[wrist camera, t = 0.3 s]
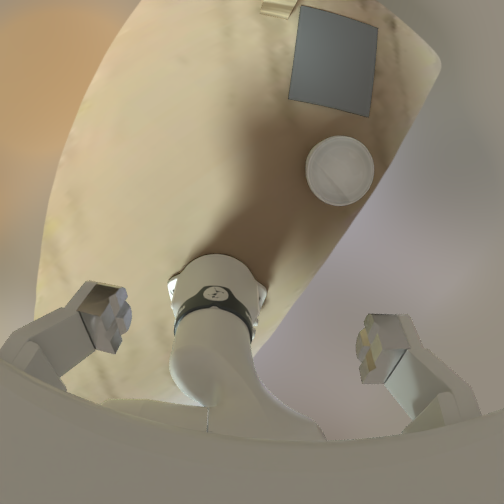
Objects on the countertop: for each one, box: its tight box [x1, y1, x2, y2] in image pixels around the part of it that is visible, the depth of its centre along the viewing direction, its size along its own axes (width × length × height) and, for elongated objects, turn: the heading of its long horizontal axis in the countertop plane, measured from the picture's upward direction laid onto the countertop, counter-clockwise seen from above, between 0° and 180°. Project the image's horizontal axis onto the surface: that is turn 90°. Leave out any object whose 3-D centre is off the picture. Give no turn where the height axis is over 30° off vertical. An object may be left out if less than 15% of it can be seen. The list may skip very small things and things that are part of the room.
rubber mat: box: [288, 6, 378, 117], centre depth 37 cm, size 18×14×1 cm
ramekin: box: [305, 136, 374, 206], centre depth 43 cm, size 11×11×5 cm
